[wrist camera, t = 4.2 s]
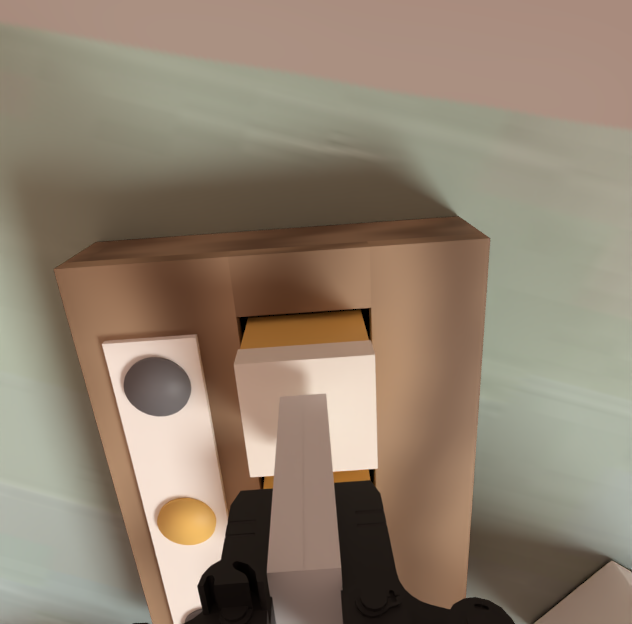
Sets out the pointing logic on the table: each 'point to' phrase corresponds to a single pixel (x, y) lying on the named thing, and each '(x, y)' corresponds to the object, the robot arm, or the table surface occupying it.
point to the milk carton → (596, 600)
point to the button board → (298, 297)
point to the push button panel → (172, 458)
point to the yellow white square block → (308, 383)
